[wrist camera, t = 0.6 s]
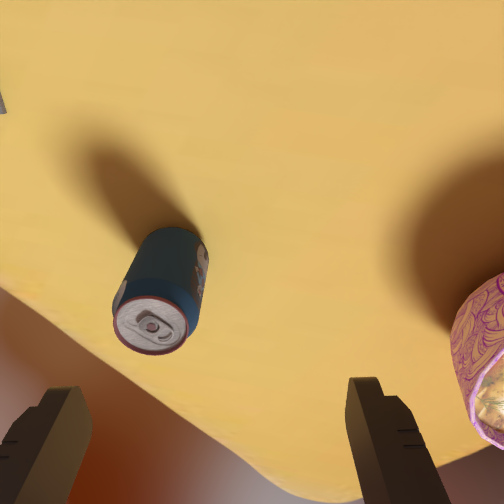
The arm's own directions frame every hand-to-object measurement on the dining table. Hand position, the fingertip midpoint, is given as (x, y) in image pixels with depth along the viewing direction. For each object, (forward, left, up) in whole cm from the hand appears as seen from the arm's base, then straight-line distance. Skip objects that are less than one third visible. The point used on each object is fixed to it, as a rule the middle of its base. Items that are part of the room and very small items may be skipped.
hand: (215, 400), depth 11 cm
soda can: (+10, -7, -27) cm, 29 cm away
